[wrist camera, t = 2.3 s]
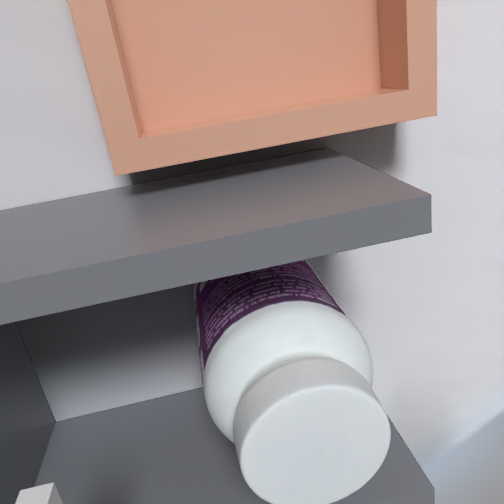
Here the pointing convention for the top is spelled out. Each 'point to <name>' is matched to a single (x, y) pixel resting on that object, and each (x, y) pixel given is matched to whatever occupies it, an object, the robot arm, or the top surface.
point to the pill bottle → (290, 384)
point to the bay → (165, 277)
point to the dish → (251, 72)
